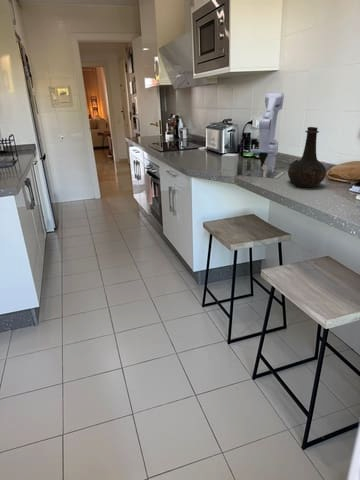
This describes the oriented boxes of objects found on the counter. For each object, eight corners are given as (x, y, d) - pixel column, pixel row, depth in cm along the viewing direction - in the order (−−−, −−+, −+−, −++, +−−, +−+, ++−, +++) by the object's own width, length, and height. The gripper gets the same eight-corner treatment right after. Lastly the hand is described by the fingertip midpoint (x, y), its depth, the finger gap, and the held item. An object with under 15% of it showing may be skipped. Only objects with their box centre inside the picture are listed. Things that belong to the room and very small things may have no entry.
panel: (255, 172, 203) (255, 165, 202) (285, 174, 195) (286, 167, 193) (245, 178, 190) (245, 170, 188) (277, 180, 181) (278, 173, 180)
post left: (238, 176, 195) (239, 162, 192) (242, 176, 194) (243, 162, 191) (237, 176, 193) (237, 162, 190) (241, 177, 192) (241, 163, 189)
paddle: (265, 172, 193) (264, 163, 192) (267, 172, 193) (266, 162, 191) (264, 173, 191) (262, 164, 190) (266, 173, 190) (264, 163, 189)
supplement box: (238, 176, 194) (239, 153, 190) (233, 178, 189) (234, 155, 184) (226, 175, 198) (226, 153, 193) (221, 177, 192) (221, 155, 187)
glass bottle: (294, 179, 183) (300, 125, 172) (329, 184, 172) (337, 126, 161) (280, 186, 170) (286, 127, 159) (316, 191, 159) (325, 129, 149)
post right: (247, 171, 206) (247, 158, 203) (250, 171, 205) (251, 158, 202) (245, 172, 204) (246, 158, 201) (249, 172, 203) (250, 159, 200)
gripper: (249, 141, 186) (247, 166, 192) (275, 143, 180) (273, 168, 185) (253, 140, 192) (252, 164, 197) (279, 141, 185) (276, 166, 190)
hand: (262, 166), depth 191 cm, fingers closed, pressing on paddle
